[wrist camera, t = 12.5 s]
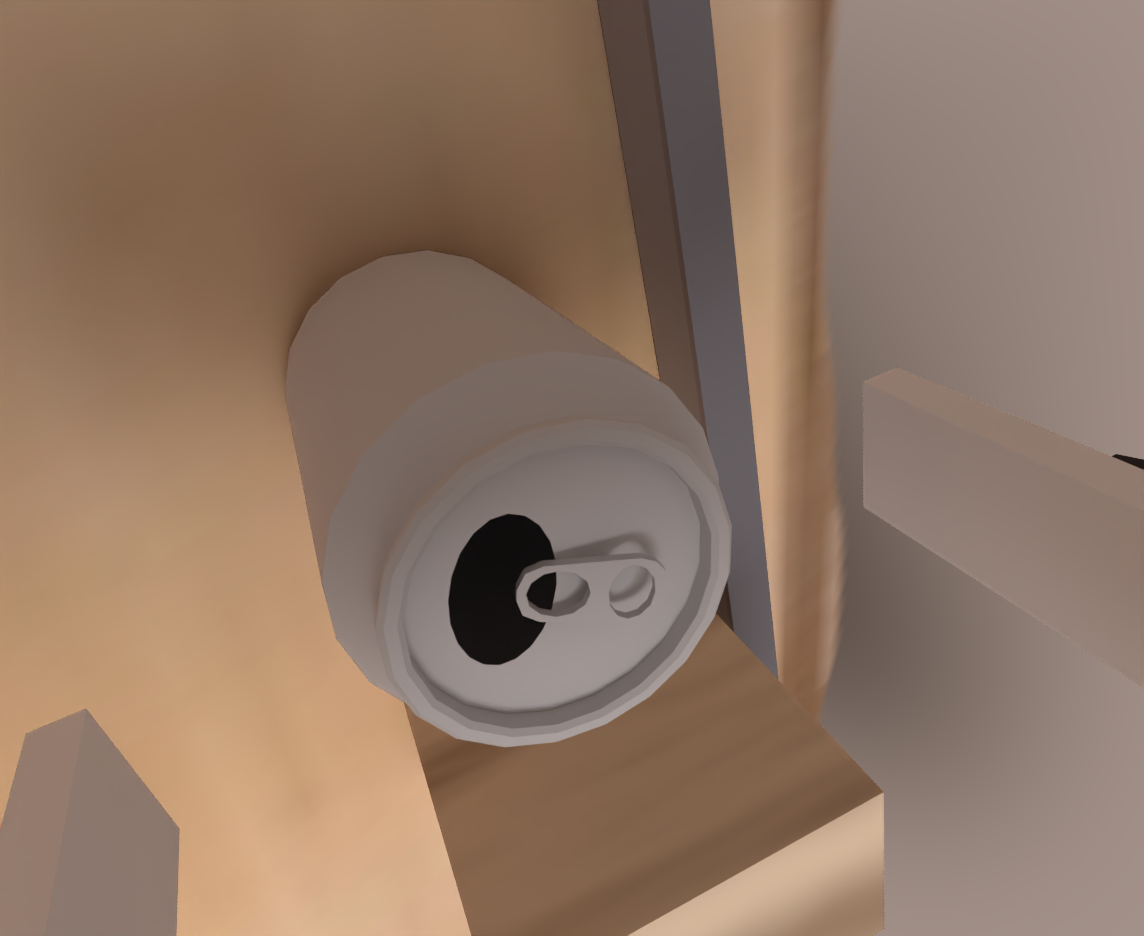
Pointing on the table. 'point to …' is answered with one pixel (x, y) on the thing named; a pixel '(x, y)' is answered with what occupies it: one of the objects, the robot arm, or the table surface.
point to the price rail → (692, 263)
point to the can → (499, 502)
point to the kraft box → (667, 816)
